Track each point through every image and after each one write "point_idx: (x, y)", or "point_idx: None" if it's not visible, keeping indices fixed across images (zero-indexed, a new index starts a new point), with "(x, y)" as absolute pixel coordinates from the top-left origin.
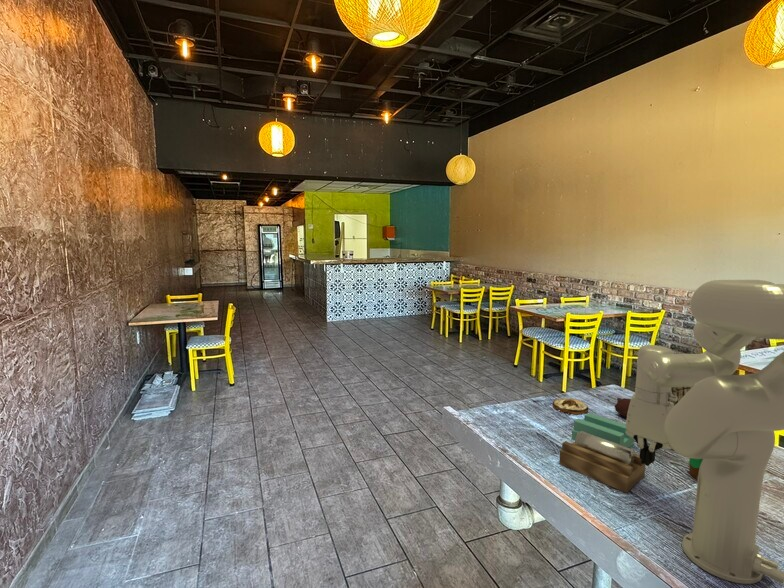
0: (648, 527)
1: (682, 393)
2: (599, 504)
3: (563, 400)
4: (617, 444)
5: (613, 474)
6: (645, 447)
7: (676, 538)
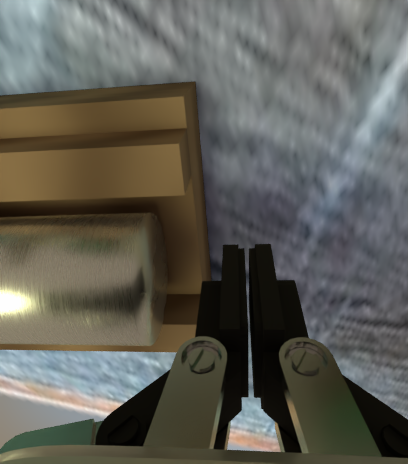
0: None
1: None
2: None
3: None
4: (29, 322)
5: None
6: (240, 406)
7: (404, 381)
